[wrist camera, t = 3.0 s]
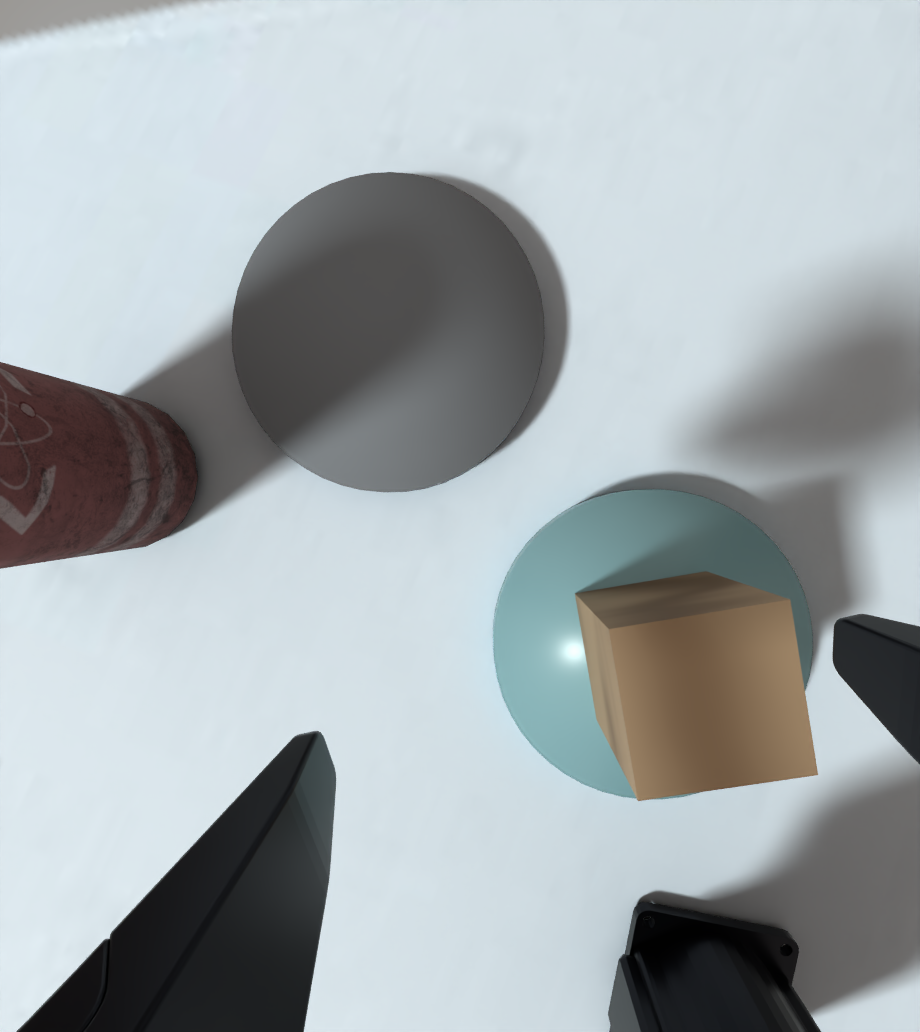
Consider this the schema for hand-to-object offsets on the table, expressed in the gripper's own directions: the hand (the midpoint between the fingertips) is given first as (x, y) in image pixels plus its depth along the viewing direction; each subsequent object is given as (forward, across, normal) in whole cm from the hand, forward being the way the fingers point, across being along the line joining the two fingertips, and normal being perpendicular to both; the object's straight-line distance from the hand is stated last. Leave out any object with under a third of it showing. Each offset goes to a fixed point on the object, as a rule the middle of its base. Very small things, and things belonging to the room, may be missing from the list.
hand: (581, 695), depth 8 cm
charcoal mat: (+14, +3, -7) cm, 16 cm away
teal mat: (+10, -5, +6) cm, 13 cm away
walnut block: (+9, -5, +6) cm, 12 cm away
